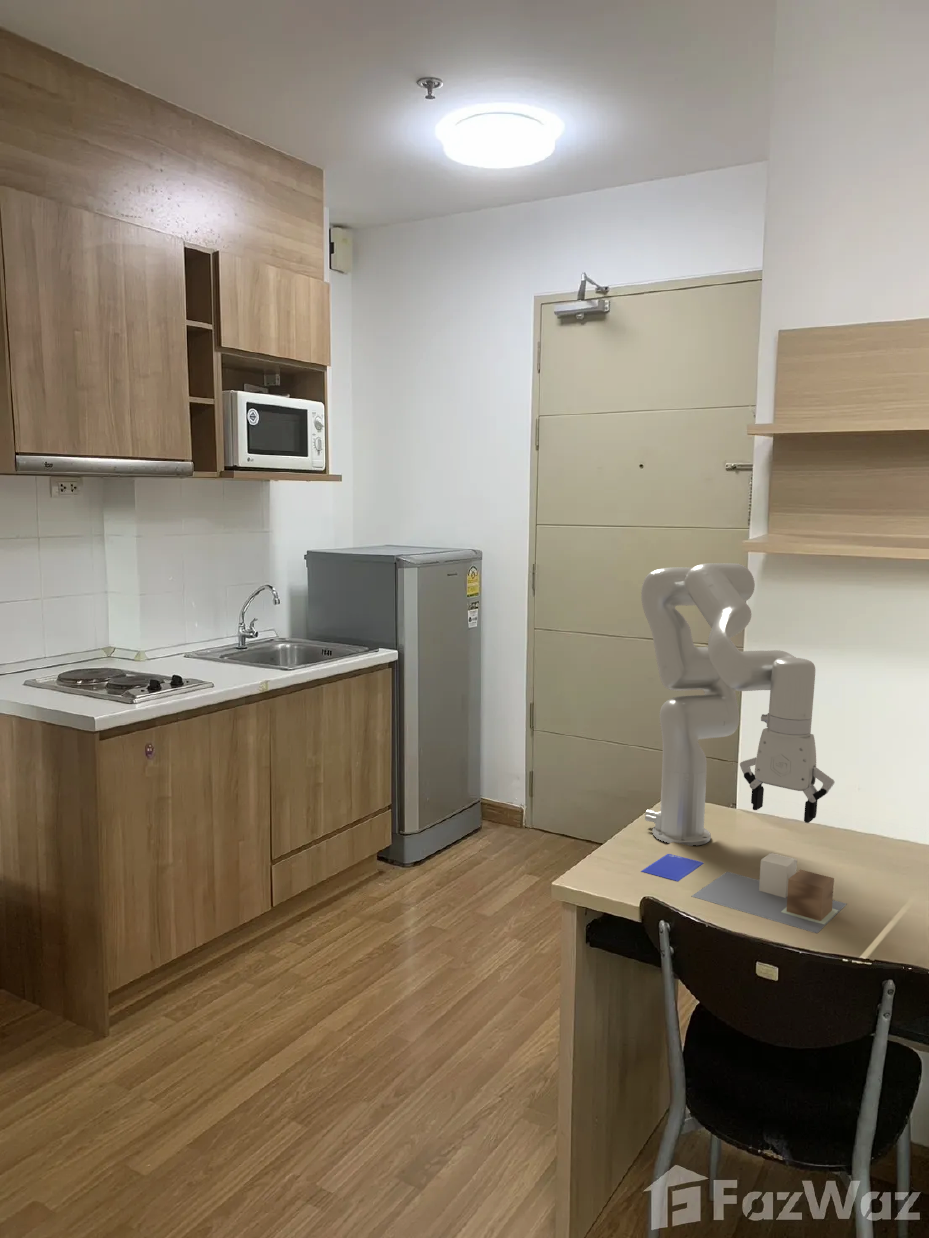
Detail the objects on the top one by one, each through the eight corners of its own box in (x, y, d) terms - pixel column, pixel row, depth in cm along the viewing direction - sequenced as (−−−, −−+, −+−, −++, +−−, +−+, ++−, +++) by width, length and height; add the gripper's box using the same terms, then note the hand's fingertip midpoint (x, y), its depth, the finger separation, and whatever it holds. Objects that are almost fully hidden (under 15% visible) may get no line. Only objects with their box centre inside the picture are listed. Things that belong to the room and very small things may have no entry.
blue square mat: (667, 852, 192) (639, 870, 182) (704, 862, 187) (678, 880, 177) (666, 860, 192) (639, 878, 182) (704, 869, 187) (677, 888, 177)
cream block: (759, 890, 174) (760, 859, 173) (769, 882, 178) (770, 852, 177) (785, 897, 171) (787, 866, 170) (795, 889, 174) (796, 859, 174)
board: (691, 900, 171) (691, 895, 171) (726, 875, 183) (727, 870, 183) (816, 937, 156) (817, 932, 156) (846, 907, 168) (847, 903, 168)
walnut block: (786, 911, 164) (788, 878, 164) (798, 900, 169) (800, 869, 168) (820, 921, 161) (822, 888, 160) (831, 910, 165) (834, 877, 165)
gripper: (736, 720, 172) (730, 808, 175) (830, 737, 161) (822, 831, 164) (752, 713, 178) (746, 799, 180) (844, 729, 167) (836, 820, 169)
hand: (782, 814), depth 172 cm, fingers open, 9 cm apart
